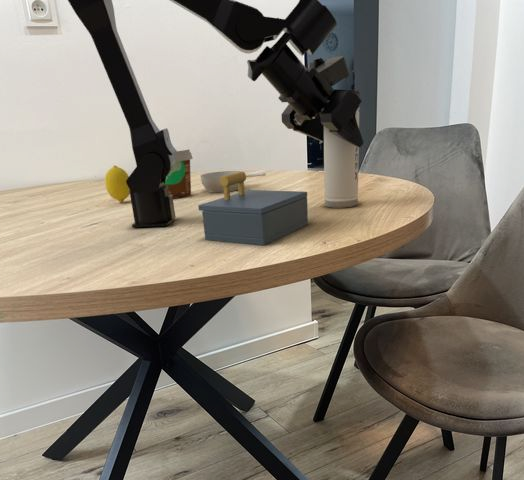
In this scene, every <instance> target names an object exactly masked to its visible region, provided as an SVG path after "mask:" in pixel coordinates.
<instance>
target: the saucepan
mask: <svg viewBox="0 0 524 480" xmlns="http://www.w3.org/2000/svg"><path fill="white" fill-rule="evenodd" d="M237 172H244V173H245V174H246V178H251V177H265V176H266V175H267V174H266V173H265V172H264V173H263V172H262V173H246V172H245V171H243V170H242V171H241V170H223V171H213V172H207V173H203V174H200V175H199V177H200V181H201V184H202V186H203V187H204V189H205V190H206V192H208V193H209V192H210V193H224V188H223V186H222V185H221V184H220V178H221V177H222V176H226V175H229V174H233V173H237ZM229 189H230V192H234V191H237V190H238V191H239V188H238V183H237V184H234V185H230V186H229Z"/></svg>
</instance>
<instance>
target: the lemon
mask: <svg viewBox="0 0 524 480" xmlns="http://www.w3.org/2000/svg"><path fill="white" fill-rule="evenodd" d="M129 176H130V175H129V174H128V173H127V171H125V169H123V168H121V167H119V166H118V165H113V166H112V167H111V168H109V169H108V170H107V171H106V174H105V177H104V178H105V179H104V184H105V190H106V192H107V193H108V195H109V196H110V197H111V198H112V199H114V200H117V201H118V202H119V203H123V202H124V201H125V200H126V199H127V198H129V197H130V192H129V190H130V189H129V187H128V185H127V183H126V180H127V179H128V177H129Z"/></svg>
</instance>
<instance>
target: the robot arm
mask: <svg viewBox="0 0 524 480" xmlns="http://www.w3.org/2000/svg"><path fill="white" fill-rule="evenodd" d="M169 1H170V2H171V3H173V4H175V5H176V6H178V7H180V8H182V9H183V10H186V11H187V12H188V13H190V14H192V15H194V16H195V17H197V18H199V19H200V20H202V21H204V22H205V23H207V24H208V25H209V26H210V27H211V28H213V29H214V30H215V31H216V32H217V33H218V34H219V35H220V36H222V37H223V38H224V39H225V40H226V41H227V42H228V43H230V44H231V45H232V46H233V47H234V48H235V49H237V50H238V52H241V53H244V54H249V55H250V54H253V53H255V52H257V51H258V50H260V49H261V48H262V46H263V44H264V43H268V42H272V41H276V40H277V38H278V37H279V36H280V35H281V34H282V35H281V36H280V38H279V39H278V40H277V41H276V42H274V44H273V45H272V46H271V47H270V46H268V45H266V46H265V47H264V49H263V50H262V51H261V52H260V54H259V55H258V56H257V57H256V58H255V59H247V61H246V63H247V78H249V80H250V81H252V82H256V81H257V80H258V79H259V77H260V76H261V75H262V76H263V77H264V79H266V80H267V82H268V83H269V84H270V85H271V86H272V88H273V89H274V90H275V91H276V92H278V94H279V96H278V98H277V99H278V100H279V101H280V102H281V103H287V104H288V105H287V106H286V107H285V108H284V110H283V111H282V113H281V115H280V116H281V123H282V124H283V125H284V126H285V127H286V128H287V129H288V130H292V131H293V132H297V133H299V134H302V135H305V136H307V137H309V138H313V139H315V140H317V141H320V142H322V143H324V127H326V128H327V129H329V132H330V133H332V134H334V135H336V136H338V137H340V138H342V139H343V140H345V141H347V142H349V143H351V144H353V145H355V146H357V147H359V148H362V146H363V145H364V139H363V136H362V132H361V130H360V126H359V127H358V124H357V121H356V111H357V109H358V108H359V109H360V104H361V103H362V101H363V98H362V97H361V95H360V93H359V94H358V93H357V92H356V91H357V90H356V89H351V90H350V89H346V90H347V91H337V92H336V93H335V95H334V96H333V97H332V99H331V100H328V99H327V97H328V96H330V95H331V93H332V92H333V91H334V90H335V89H334V87H333V86H335V85H336V84H338V83H339V82H341V81H342V80H344V79H347V78H349V77H350V76H351V72H350V70H349V67H348V63H347V61H346V58H345V55H340V56H339V55H338V56H334V57H331V58H327V59H326V60H324V59H323V58H322V57H318V58H316V57H315V58H314V59H313V60H311V61H310V62H309V68H307V67H306V66H305V65H304V64H303V62H302V61H301V60H300V59H299V57H298V56H297V55H296V54H295V53H294V51H293V50H292V49H291V47H292V48H293V49H294V50H295V51H296V52H297V54H299V55H300V56H302V57H303V56H305V54H306V53H307V54H308V55H310V56H313V55H314V53H315V52H316V51H317V50H318V49H319V48H320V47H321V45H322V44H323V43H324V42H325V41H326V39H327V38H328V37H329V36H330V35H331V34H332V33H333V31H334V30H335V29H336V28H337V27H338V23H337V20H336V19H335V17H334V15H333V14H332V12H331V11H330V10H329V8H328V7H327V6H326V5H325V4H322V3H321V1H319V0H298V2H297V4H296V5H295V6H294V7H293V9H292V10H291V11H290V12H289V13H288V15H287V16H286V17H285V18H279V17H270V16H266V15H264V14H263V12H261V11H260V10H259V9H258V8H256V7H254V6H251V5H248V4H245V3H243V2H240V1H237V0H169ZM67 2H68V3H69V5H70V7H71V8H72V10H73V11H74V13H75V15H76V17H77V18H78V19H79V21H80V22H81V23H82V25H83V26H84V27H85V29H86V31H87V32H88V34H89V35H90V37H91V39H92V42H93V44H94V46H95V49H96V52H97V53H98V56H99V59H100V61H101V63H102V67H103V68H104V70H105V72H106V75H107V78H108V80H109V82H110V84H111V87H112V90H113V92H114V93H115V97H116V100H117V102H118V104H119V106H120V108H121V112H122V113H123V116H124V118H125V121H126V123H127V126H128V128H129V133H130V140H131V148H132V153H133V157H134V160H135V165H136V167H135V168H134V170H133V171H132V172H131V174H130V175H128V176H129V177H128V179H127V180H126V183H127V185H128V187H129V189H130V190H129V192H130V194H129V197H130V203H131V208H132V214H133V220H134V222H133V223H132V224H131V228H150V227H151V228H152V227H154V228H155V227H167V226H169V225H170V224H171V223H172V222H173V221H175V220H176V211H175V204H174V199H173V196H172V195H171V194H170V195H169V188H168V186H162V185H163V184H165V181H166V176H167V175H168V174H169V173H170V172H171V171H172V170H173V168H174V165H175V156H174V153H175V152H176V151H178V150H177V148H176V147H174V145H173V144H172V141H171V140H172V139H171V137H170V132H169V129H168V128H163V129H161V130H160V128H159V127H158V126H157V124H156V123H155V121H154V120H153V117H152V116H151V113H150V110H149V108H148V105H147V102H146V100H145V97H144V95H143V92H142V90H141V88H140V85H139V83H138V80H137V78H136V75H135V73H134V70H133V67H132V64H131V63H130V59H129V56H128V55H127V52H126V49H125V47H124V45H123V41H122V39H121V37H120V35H119V32H118V28H117V23H116V15H115V7H114V4H113V0H67ZM282 32H284V33H282ZM288 43H289V44H290V45H291V47H290V46H289V45H288Z"/></svg>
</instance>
